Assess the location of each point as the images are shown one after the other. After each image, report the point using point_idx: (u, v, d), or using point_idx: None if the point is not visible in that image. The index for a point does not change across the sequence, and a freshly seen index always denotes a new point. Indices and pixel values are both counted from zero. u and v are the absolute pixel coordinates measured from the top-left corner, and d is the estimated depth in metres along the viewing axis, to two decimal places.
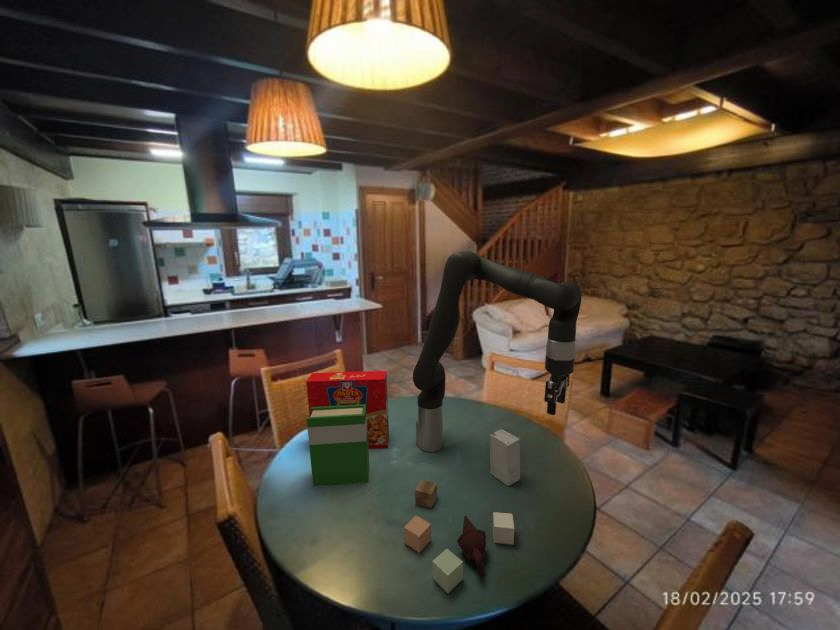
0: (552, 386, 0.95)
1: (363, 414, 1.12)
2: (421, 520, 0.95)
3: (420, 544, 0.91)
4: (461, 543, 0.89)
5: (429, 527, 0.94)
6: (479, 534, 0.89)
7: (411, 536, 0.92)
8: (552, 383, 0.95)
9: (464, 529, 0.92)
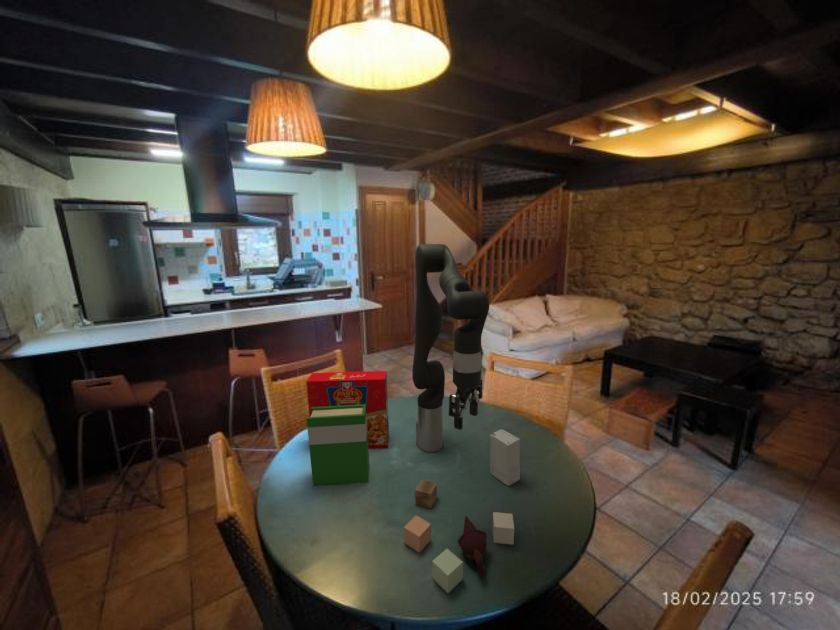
0: (455, 400, 0.91)
1: (363, 414, 1.12)
2: (421, 520, 0.95)
3: (420, 544, 0.91)
4: (462, 544, 0.89)
5: (429, 527, 0.94)
6: (480, 535, 0.89)
7: (411, 536, 0.92)
8: (455, 397, 0.91)
9: (465, 530, 0.92)
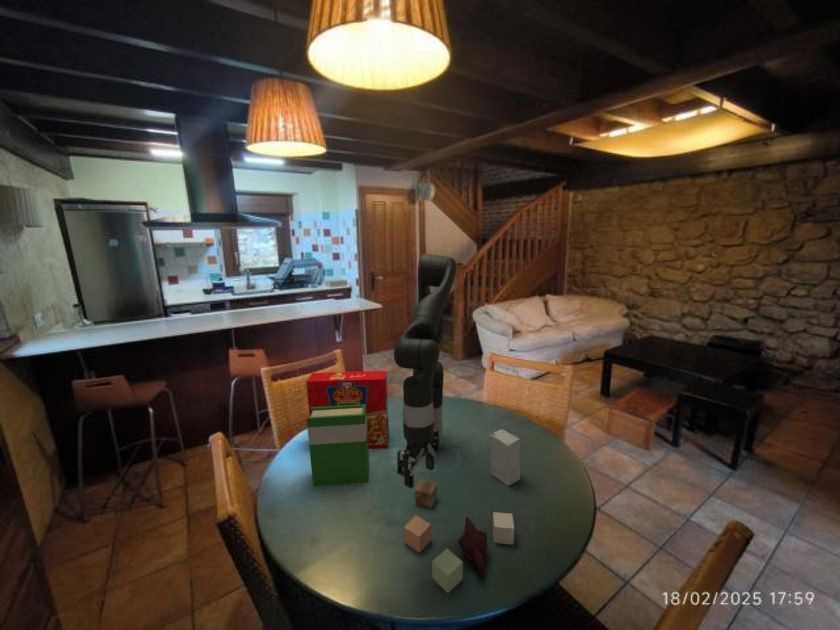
0: (403, 458, 0.84)
1: (363, 414, 1.12)
2: (421, 520, 0.95)
3: (420, 544, 0.91)
4: (462, 544, 0.89)
5: (429, 527, 0.94)
6: (480, 535, 0.89)
7: (411, 536, 0.92)
8: (403, 455, 0.84)
9: (465, 530, 0.92)
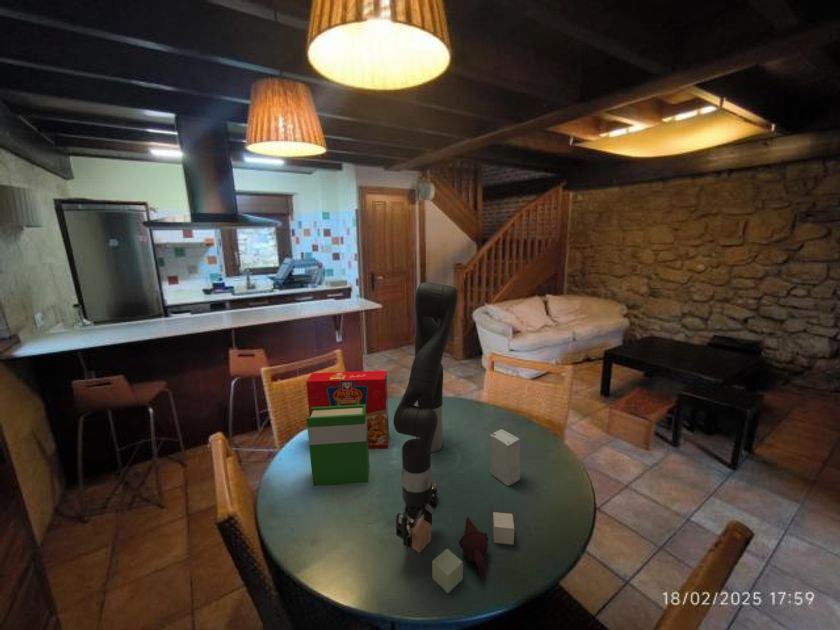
0: (402, 522, 0.86)
1: (363, 414, 1.12)
2: (421, 520, 0.95)
3: (420, 544, 0.91)
4: (463, 545, 0.89)
5: (429, 527, 0.94)
6: (481, 536, 0.89)
7: None
8: (401, 519, 0.86)
9: (466, 531, 0.92)
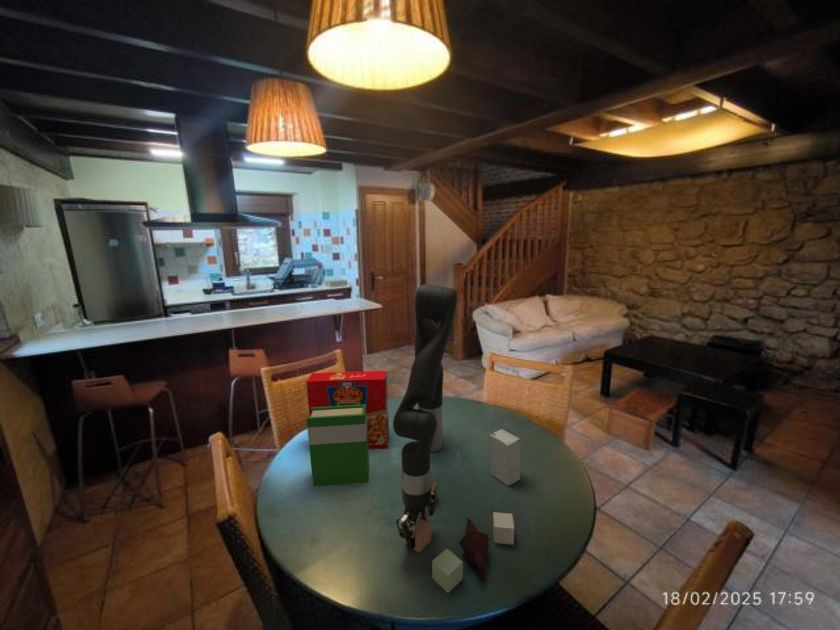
0: (402, 527, 0.87)
1: (363, 414, 1.12)
2: (421, 520, 0.95)
3: (420, 544, 0.91)
4: (463, 545, 0.89)
5: (429, 527, 0.94)
6: (481, 537, 0.88)
7: None
8: (401, 525, 0.87)
9: (467, 531, 0.92)
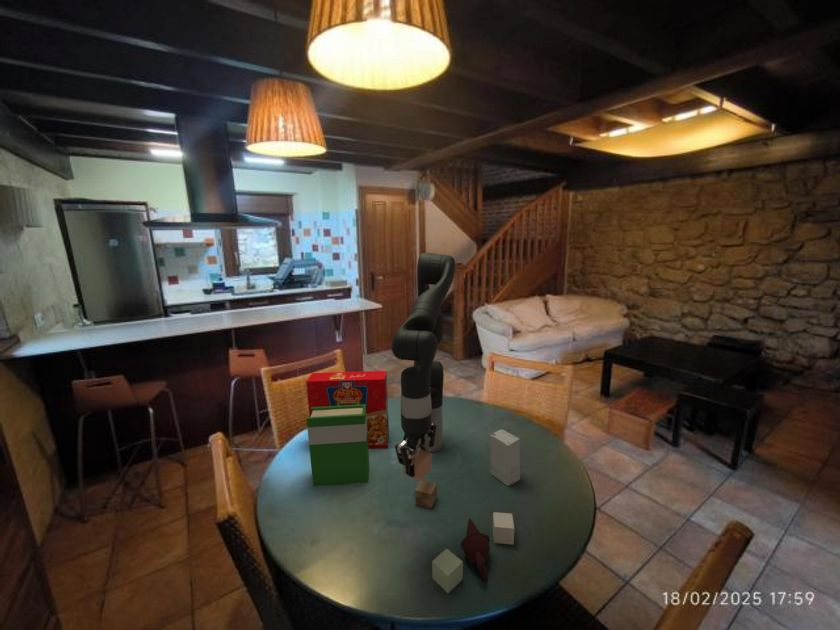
0: (401, 452, 0.85)
1: (363, 414, 1.12)
2: (421, 450, 0.93)
3: (420, 472, 0.89)
4: (464, 546, 0.88)
5: (429, 456, 0.91)
6: (482, 538, 0.88)
7: None
8: (400, 449, 0.84)
9: (468, 532, 0.91)
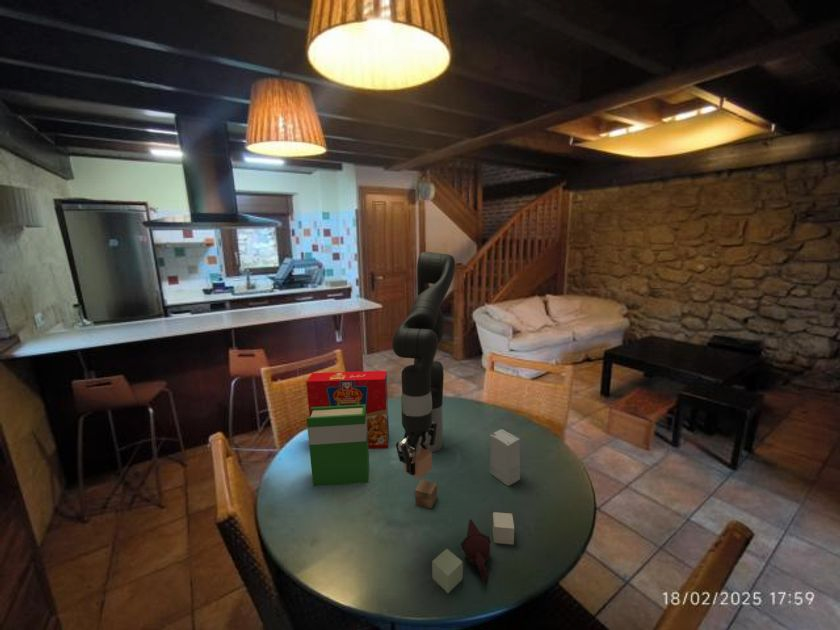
0: (402, 449, 0.85)
1: (363, 414, 1.12)
2: (422, 448, 0.93)
3: (421, 470, 0.89)
4: (464, 547, 0.88)
5: (430, 454, 0.91)
6: (483, 539, 0.88)
7: None
8: (401, 447, 0.85)
9: (468, 533, 0.91)
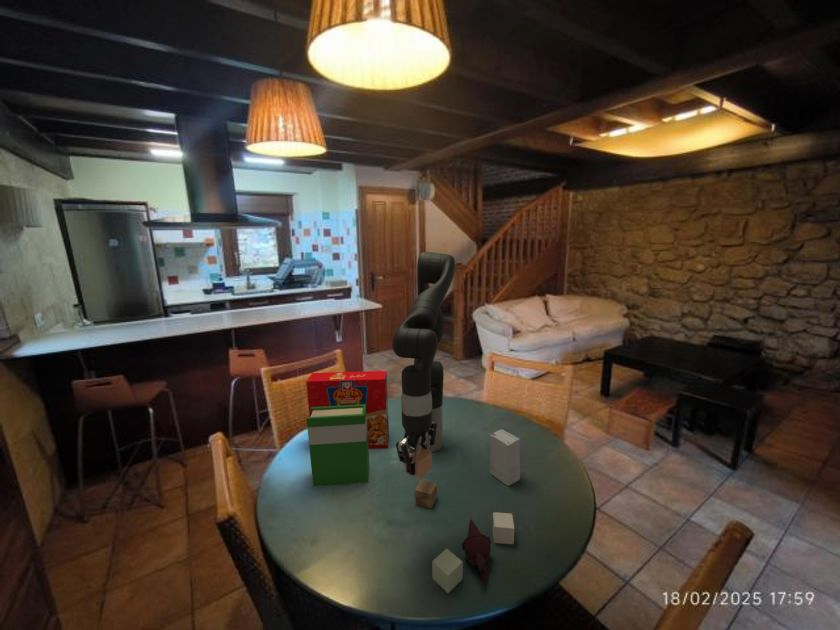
0: (402, 449, 0.85)
1: (363, 414, 1.12)
2: (422, 448, 0.93)
3: (421, 470, 0.89)
4: (465, 547, 0.88)
5: (430, 454, 0.91)
6: (483, 539, 0.88)
7: None
8: (401, 447, 0.85)
9: (469, 533, 0.91)
